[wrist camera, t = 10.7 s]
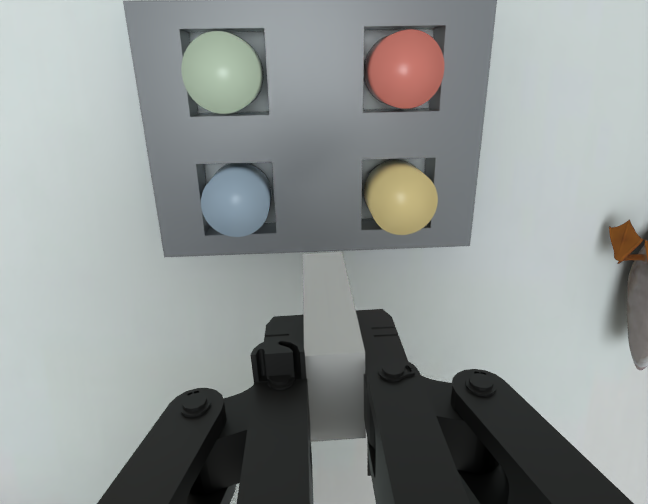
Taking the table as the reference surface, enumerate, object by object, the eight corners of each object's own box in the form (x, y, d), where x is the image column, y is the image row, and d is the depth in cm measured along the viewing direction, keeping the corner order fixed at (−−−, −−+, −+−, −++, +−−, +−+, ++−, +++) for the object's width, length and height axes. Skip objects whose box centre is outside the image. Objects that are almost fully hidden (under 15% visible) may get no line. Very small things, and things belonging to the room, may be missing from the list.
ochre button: (363, 220, 33) (370, 236, 30) (364, 160, 31) (371, 170, 28) (422, 219, 33) (435, 233, 30) (426, 158, 32) (440, 168, 28)
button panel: (173, 244, 34) (164, 257, 32) (137, 6, 28) (123, 0, 26) (458, 234, 35) (469, 245, 33) (481, 2, 29) (497, -4, 27)
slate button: (213, 222, 33) (204, 238, 30) (206, 163, 32) (196, 172, 28) (273, 220, 33) (270, 235, 30) (269, 161, 32) (266, 170, 29)
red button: (363, 105, 31) (370, 109, 28) (364, 34, 29) (372, 29, 26) (427, 104, 31) (441, 107, 28) (431, 33, 29) (447, 28, 26)
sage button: (198, 110, 30) (186, 114, 26) (189, 36, 28) (176, 31, 25) (265, 108, 30) (262, 113, 27) (261, 34, 28) (256, 30, 25)
